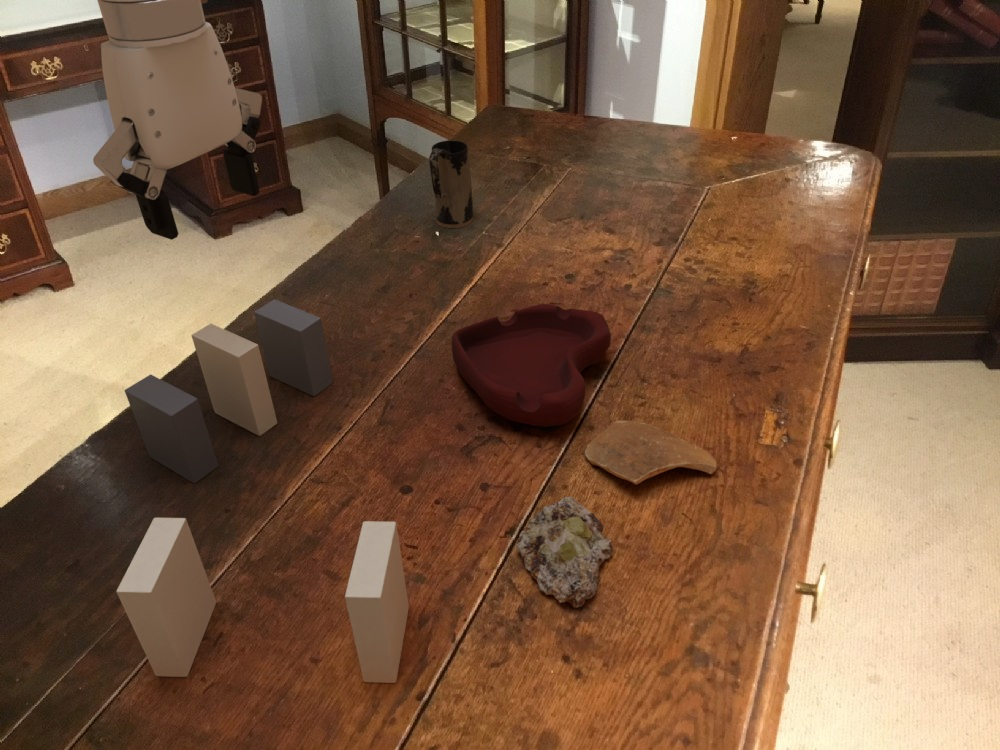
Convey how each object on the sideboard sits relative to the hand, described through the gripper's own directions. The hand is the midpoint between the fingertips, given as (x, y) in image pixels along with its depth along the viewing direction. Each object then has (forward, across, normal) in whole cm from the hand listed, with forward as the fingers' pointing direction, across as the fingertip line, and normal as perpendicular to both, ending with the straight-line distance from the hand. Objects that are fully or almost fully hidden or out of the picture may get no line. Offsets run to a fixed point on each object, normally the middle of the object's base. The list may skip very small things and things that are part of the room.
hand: (206, 212), depth 78 cm
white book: (+22, +2, +1) cm, 23 cm away
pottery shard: (+23, -13, +39) cm, 47 cm away
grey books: (+22, +2, +1) cm, 23 cm away
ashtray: (+23, -18, +22) cm, 37 cm away
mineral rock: (+23, +2, +39) cm, 45 cm away
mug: (+23, -45, -6) cm, 51 cm away
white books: (+22, +20, +24) cm, 39 cm away
